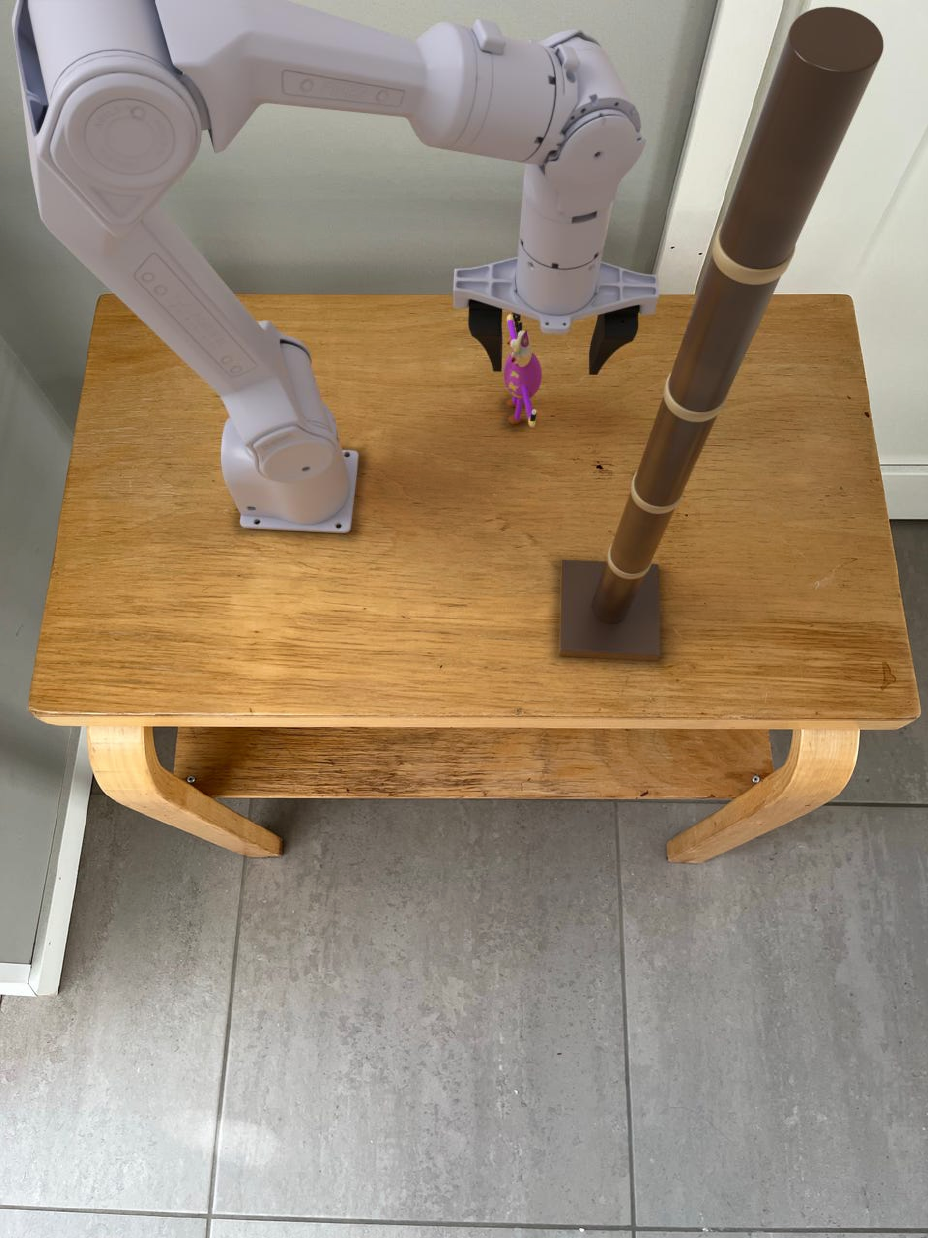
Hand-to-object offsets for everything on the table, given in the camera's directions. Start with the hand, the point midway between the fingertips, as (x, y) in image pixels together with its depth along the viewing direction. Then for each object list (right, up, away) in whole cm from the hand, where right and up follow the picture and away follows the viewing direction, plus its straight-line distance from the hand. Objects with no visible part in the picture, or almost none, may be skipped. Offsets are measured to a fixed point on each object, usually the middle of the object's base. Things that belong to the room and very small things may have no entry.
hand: (545, 362), depth 73 cm
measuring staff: (+5, -20, +2) cm, 21 cm away
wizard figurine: (-2, -2, +10) cm, 10 cm away
